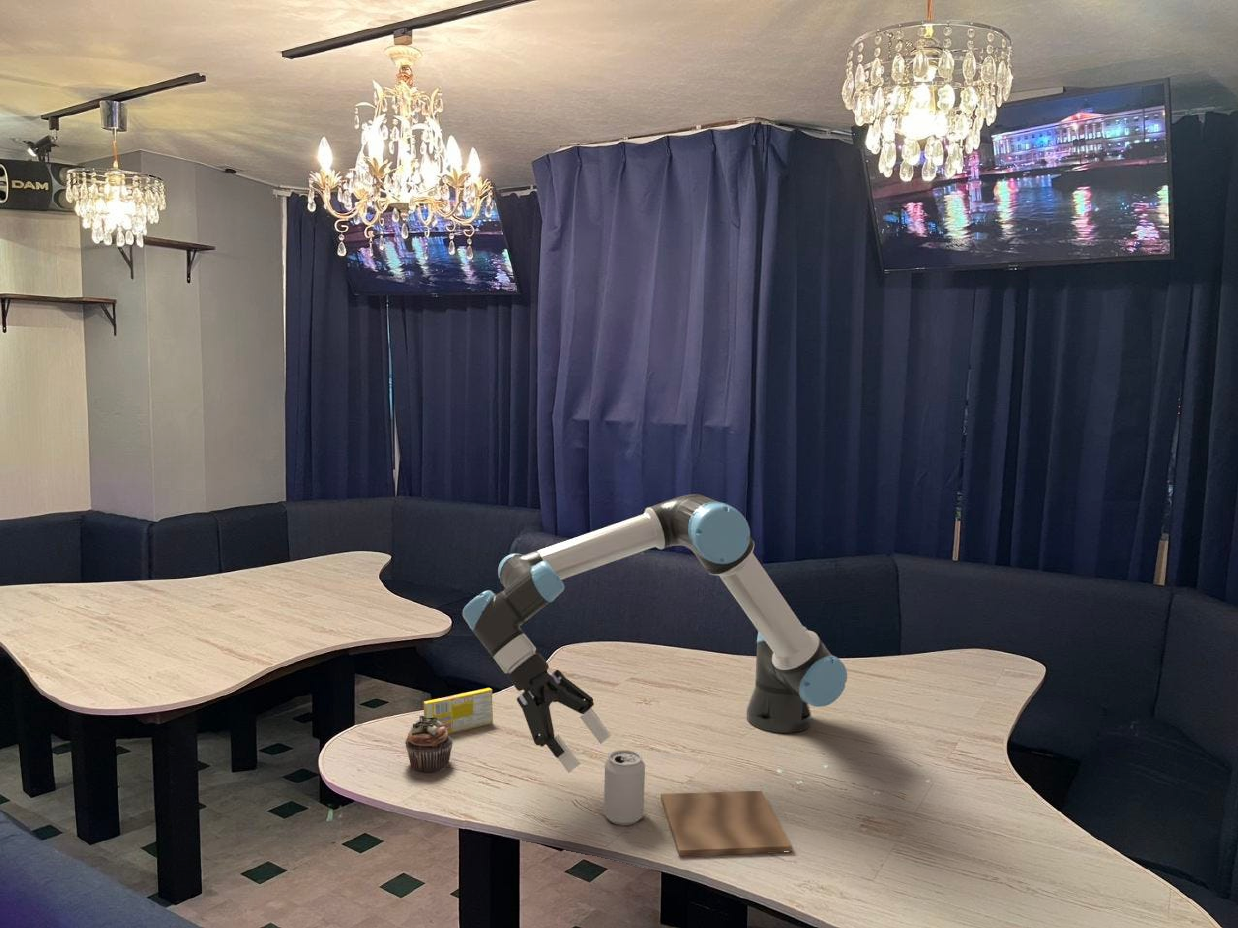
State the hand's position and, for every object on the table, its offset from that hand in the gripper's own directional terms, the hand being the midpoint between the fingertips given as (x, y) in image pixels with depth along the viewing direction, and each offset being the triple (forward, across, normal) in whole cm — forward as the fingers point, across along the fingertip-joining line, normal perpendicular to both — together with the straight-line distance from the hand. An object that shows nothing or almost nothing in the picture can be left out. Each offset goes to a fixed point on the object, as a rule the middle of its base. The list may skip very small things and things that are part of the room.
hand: (591, 753), depth 170 cm
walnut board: (+25, -6, +9) cm, 27 cm away
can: (+13, -1, -3) cm, 13 cm away
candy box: (-22, -20, -38) cm, 48 cm away
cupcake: (-19, -2, -35) cm, 40 cm away
